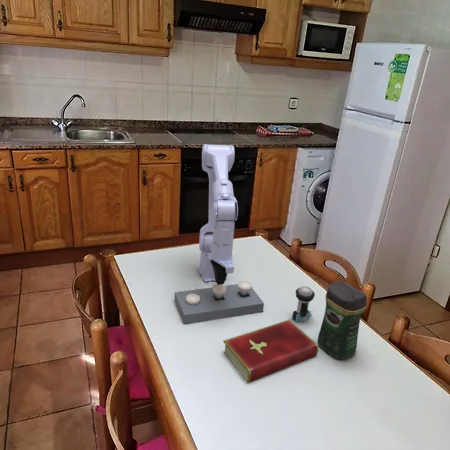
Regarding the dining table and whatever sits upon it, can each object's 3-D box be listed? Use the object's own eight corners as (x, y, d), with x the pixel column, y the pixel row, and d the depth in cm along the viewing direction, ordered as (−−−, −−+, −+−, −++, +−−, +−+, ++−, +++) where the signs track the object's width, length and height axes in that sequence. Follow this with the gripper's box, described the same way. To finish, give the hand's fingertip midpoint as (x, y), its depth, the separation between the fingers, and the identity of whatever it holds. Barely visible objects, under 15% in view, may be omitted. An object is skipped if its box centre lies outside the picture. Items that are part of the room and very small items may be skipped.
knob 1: (184, 303, 120) (184, 294, 118) (197, 302, 121) (197, 292, 120) (187, 311, 116) (188, 302, 115) (201, 309, 117) (201, 300, 116)
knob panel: (174, 300, 123) (174, 292, 122) (247, 290, 131) (248, 282, 130) (184, 324, 112) (184, 315, 111) (263, 311, 120) (264, 303, 119)
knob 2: (235, 290, 124) (236, 281, 123) (247, 289, 125) (248, 280, 124) (240, 297, 121) (241, 288, 119) (252, 296, 122) (253, 286, 121)
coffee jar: (360, 354, 106) (374, 293, 99) (339, 364, 101) (353, 301, 94) (332, 333, 113) (344, 275, 106) (311, 342, 109) (322, 282, 102)
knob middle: (210, 294, 121) (211, 284, 120) (223, 292, 123) (223, 283, 122) (214, 301, 118) (215, 291, 117) (227, 299, 119) (228, 290, 118)
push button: (305, 311, 122) (310, 282, 119) (317, 320, 118) (322, 291, 114) (287, 316, 119) (292, 287, 115) (299, 326, 115) (304, 296, 111)
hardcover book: (316, 357, 104) (319, 344, 102) (248, 385, 94) (249, 370, 92) (287, 331, 113) (289, 318, 112) (222, 353, 103) (223, 339, 102)
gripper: (201, 232, 118) (199, 272, 123) (217, 253, 106) (214, 298, 111) (224, 230, 121) (221, 270, 126) (242, 251, 108) (238, 295, 113)
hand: (219, 283), depth 119 cm, fingers closed
